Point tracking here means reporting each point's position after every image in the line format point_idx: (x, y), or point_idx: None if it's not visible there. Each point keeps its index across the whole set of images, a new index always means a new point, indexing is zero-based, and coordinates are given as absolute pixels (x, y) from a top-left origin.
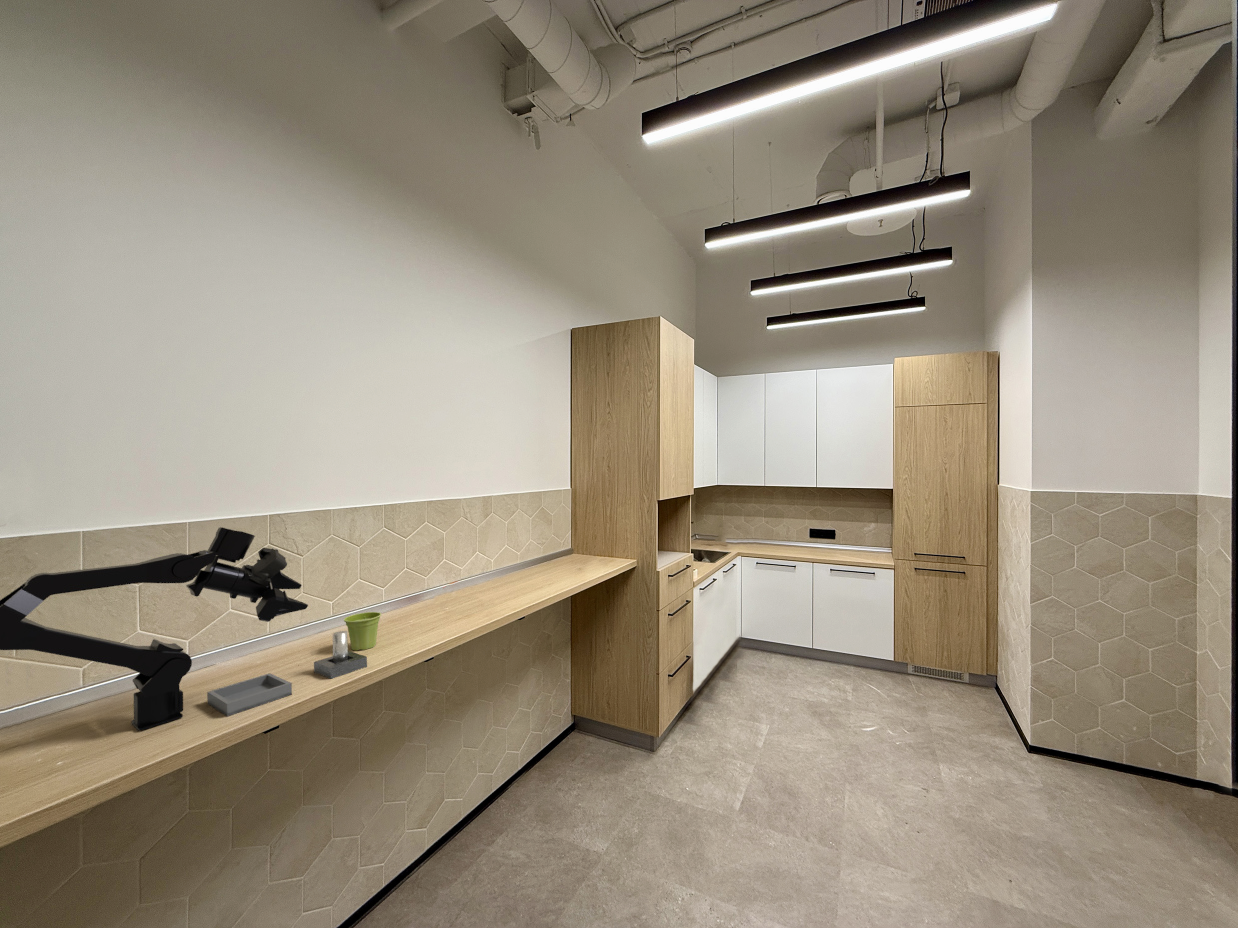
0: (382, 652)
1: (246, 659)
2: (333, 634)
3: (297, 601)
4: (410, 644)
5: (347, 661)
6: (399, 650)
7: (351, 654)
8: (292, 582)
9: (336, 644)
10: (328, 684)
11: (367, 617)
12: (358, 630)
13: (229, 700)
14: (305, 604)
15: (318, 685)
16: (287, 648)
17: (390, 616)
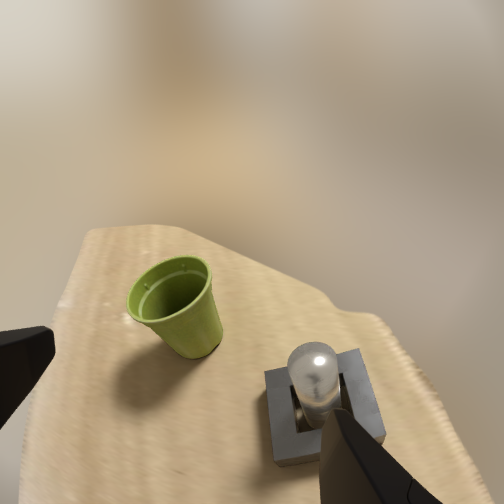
0: (278, 320)
1: (38, 494)
2: (312, 381)
3: (386, 468)
4: (277, 274)
5: (360, 391)
6: (298, 294)
7: None
8: (5, 356)
9: (332, 391)
10: (423, 450)
11: (152, 283)
12: (199, 319)
13: None
14: (355, 421)
15: (410, 472)
16: (52, 427)
17: (91, 267)
